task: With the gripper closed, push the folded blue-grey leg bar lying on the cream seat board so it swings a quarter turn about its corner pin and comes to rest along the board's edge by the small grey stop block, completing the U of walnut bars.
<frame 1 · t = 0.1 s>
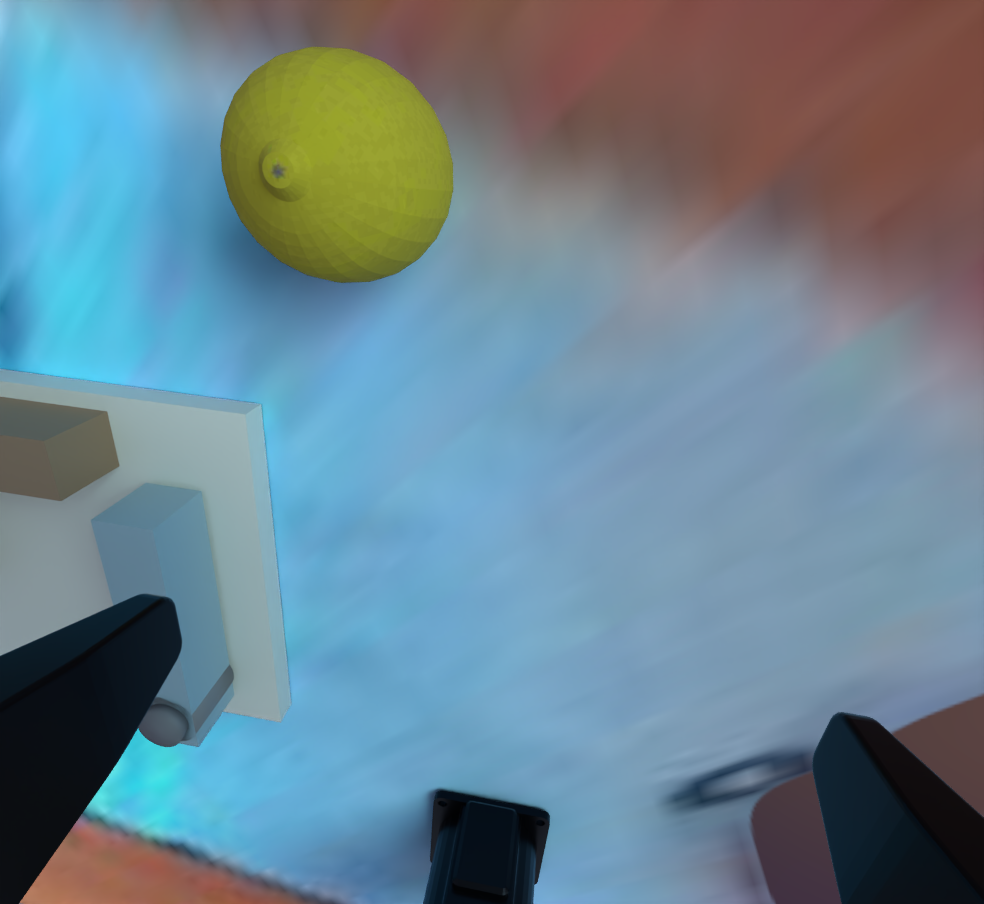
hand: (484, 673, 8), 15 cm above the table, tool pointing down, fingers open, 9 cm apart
leg: (169, 625, 25), point 3 cm above the table, hinge at 0.0°
lemon: (394, 177, 19), on the table
seat: (113, 547, 28), on the table
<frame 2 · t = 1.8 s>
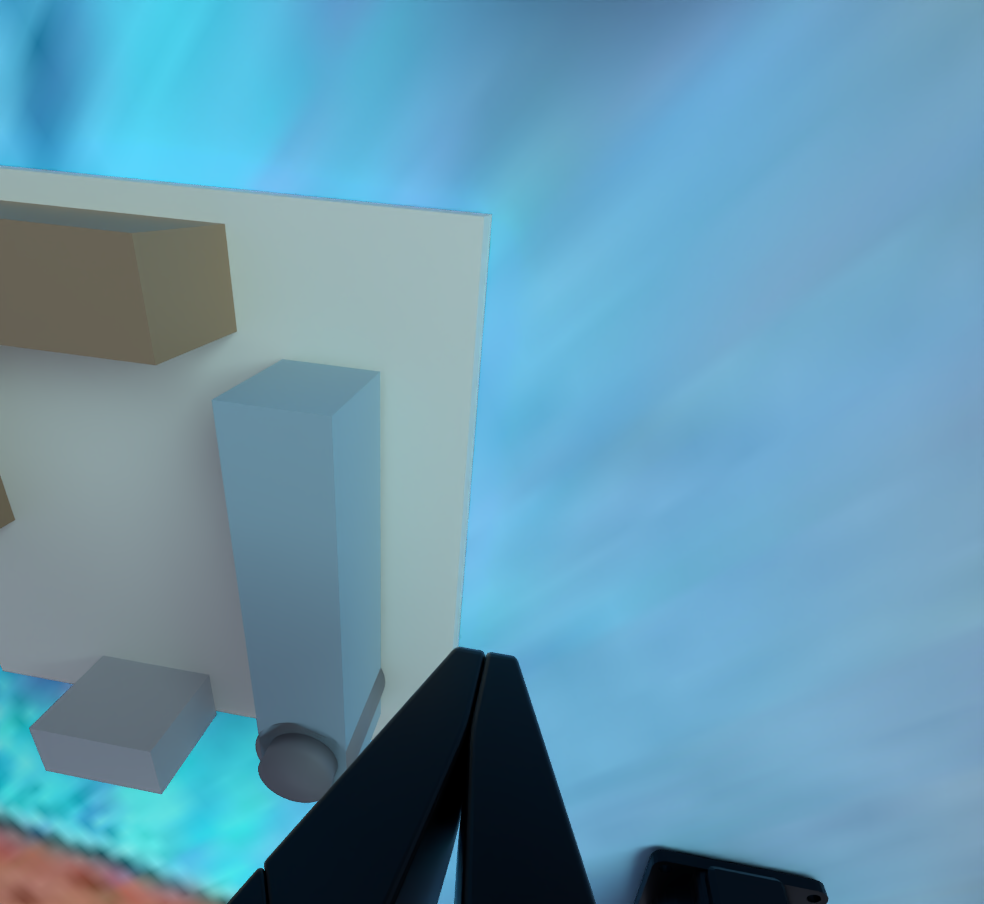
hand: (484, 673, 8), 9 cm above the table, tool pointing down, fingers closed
leg: (312, 603, 15), point 3 cm above the table, hinge at 0.0°
seat: (202, 486, 18), on the table
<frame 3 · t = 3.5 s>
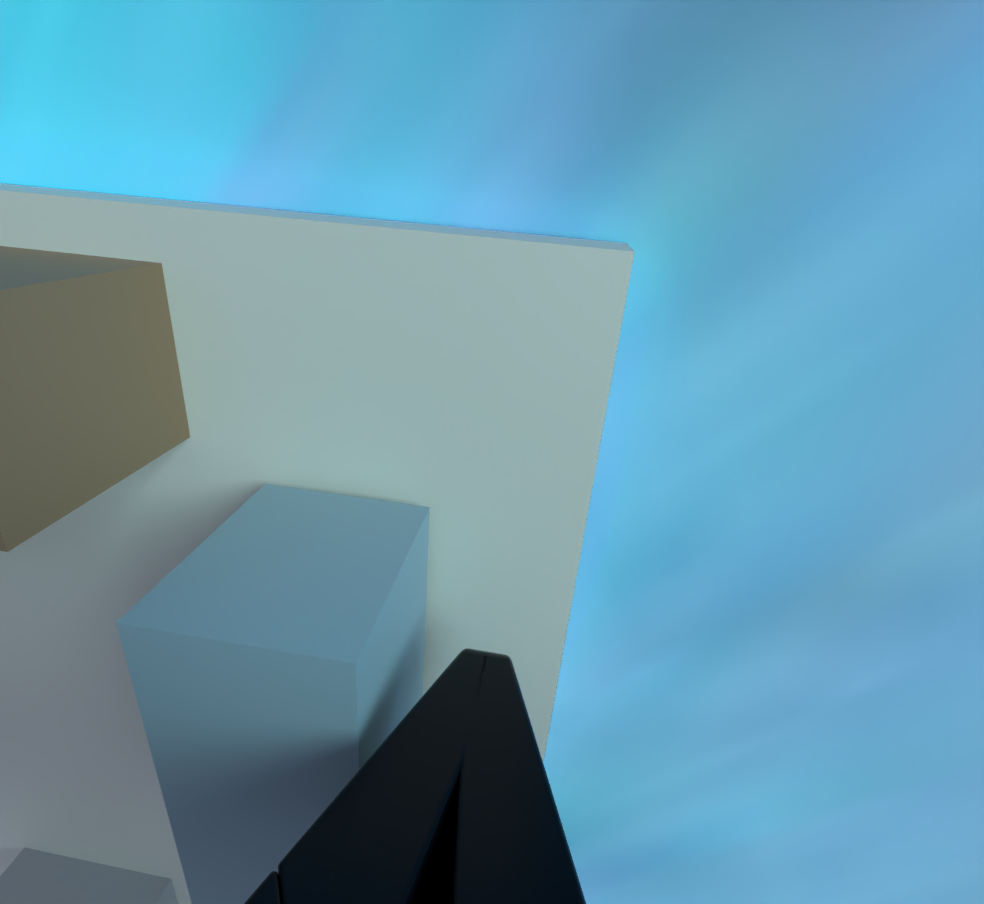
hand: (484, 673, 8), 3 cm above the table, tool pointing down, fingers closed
leg: (317, 866, 9), point 3 cm above the table, hinge at 0.1°, touching gripper
seat: (154, 633, 12), on the table
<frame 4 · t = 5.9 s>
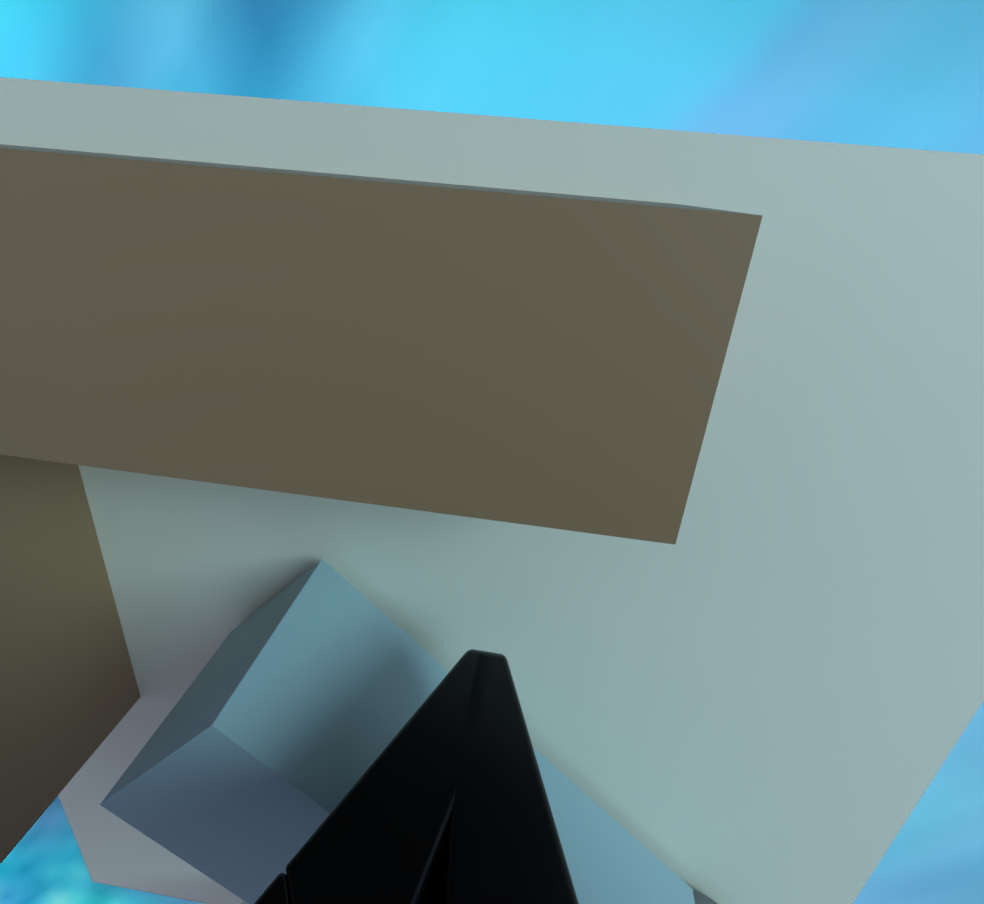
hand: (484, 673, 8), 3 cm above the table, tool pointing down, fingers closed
seat: (446, 638, 11), on the table
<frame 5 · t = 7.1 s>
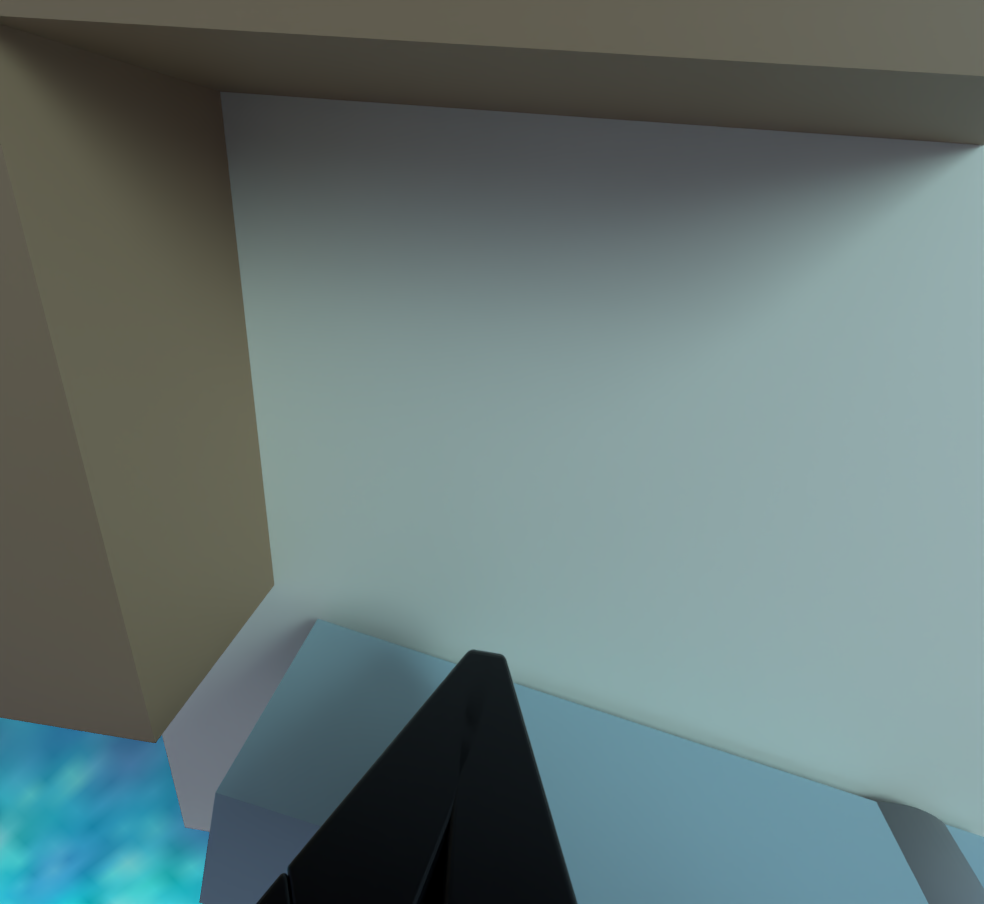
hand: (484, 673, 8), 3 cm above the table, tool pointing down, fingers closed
leg: (642, 889, 8), point 3 cm above the table, hinge at 76.9°, touching gripper
seat: (631, 514, 9), on the table
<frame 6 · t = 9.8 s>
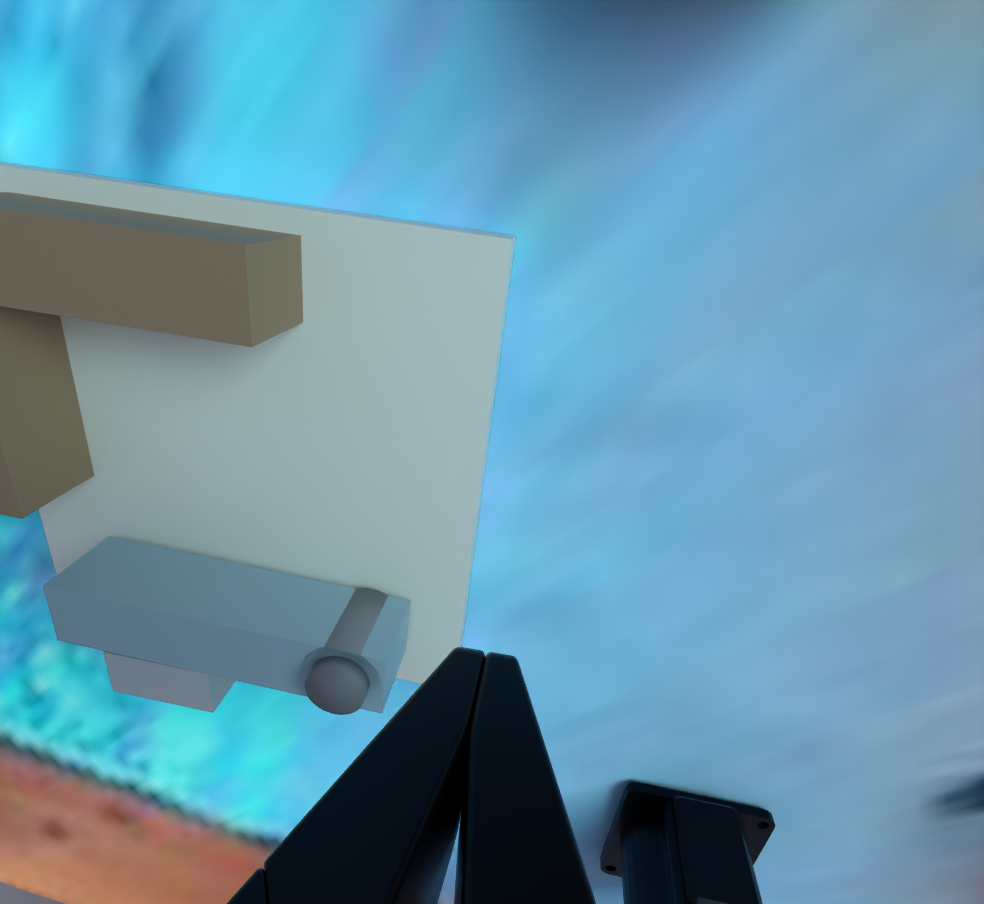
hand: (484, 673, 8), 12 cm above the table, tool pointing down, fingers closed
leg: (233, 625, 20), point 3 cm above the table, hinge at 88.7°
seat: (256, 452, 21), on the table
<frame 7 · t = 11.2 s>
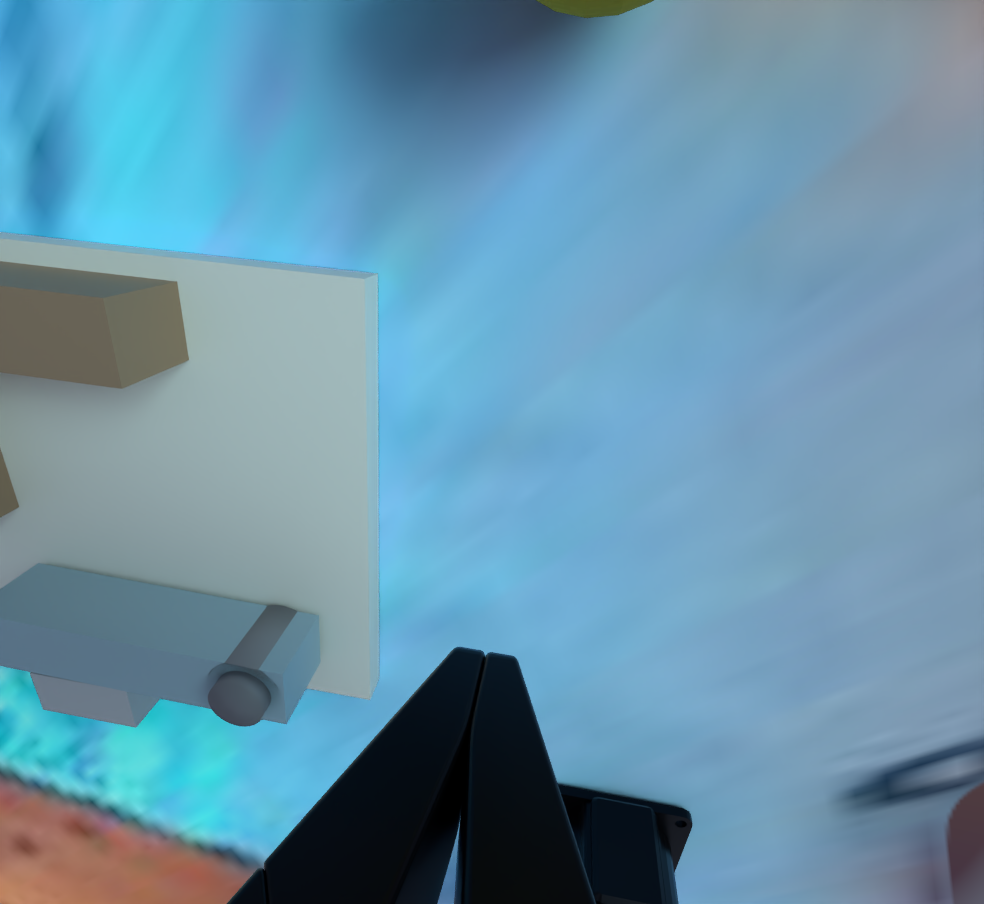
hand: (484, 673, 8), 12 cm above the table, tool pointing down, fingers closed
leg: (149, 644, 21), point 3 cm above the table, hinge at 88.7°
seat: (169, 479, 22), on the table
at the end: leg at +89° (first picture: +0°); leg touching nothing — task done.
